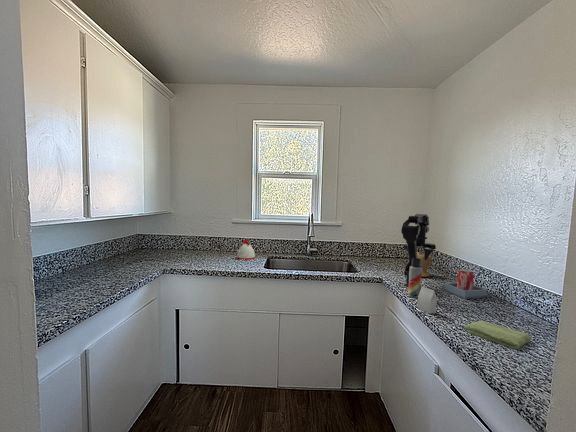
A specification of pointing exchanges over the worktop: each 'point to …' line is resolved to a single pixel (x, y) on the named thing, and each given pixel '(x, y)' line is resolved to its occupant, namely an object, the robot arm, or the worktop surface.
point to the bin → (470, 294)
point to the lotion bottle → (415, 278)
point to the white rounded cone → (246, 251)
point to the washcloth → (498, 334)
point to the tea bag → (427, 300)
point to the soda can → (465, 279)
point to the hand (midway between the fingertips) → (418, 260)
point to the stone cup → (424, 263)
